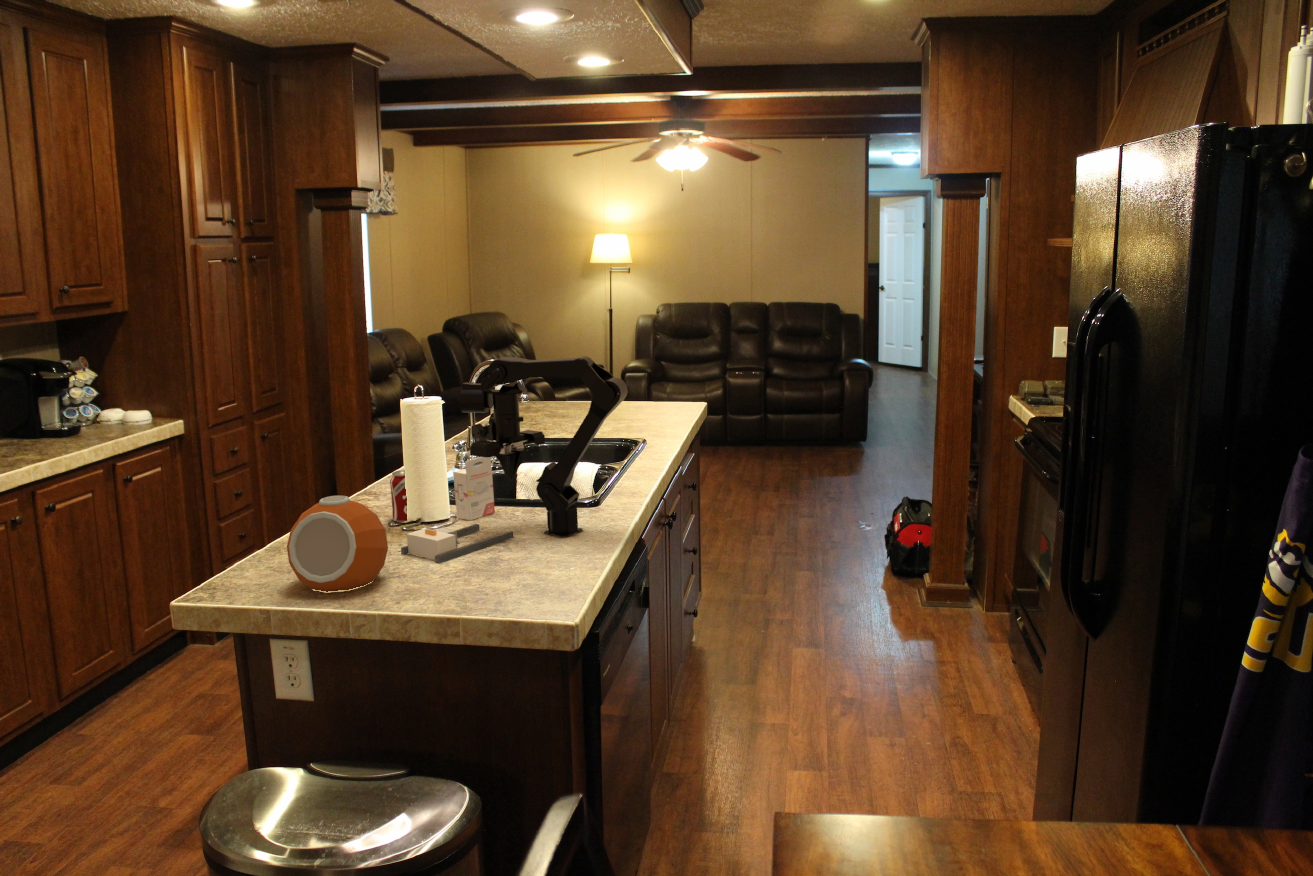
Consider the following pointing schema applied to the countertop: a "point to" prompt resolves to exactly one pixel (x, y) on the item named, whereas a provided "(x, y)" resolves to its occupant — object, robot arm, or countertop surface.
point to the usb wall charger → (449, 533)
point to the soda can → (398, 496)
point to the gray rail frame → (469, 547)
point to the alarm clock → (337, 545)
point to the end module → (430, 543)
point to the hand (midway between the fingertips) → (510, 480)
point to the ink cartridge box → (474, 489)
